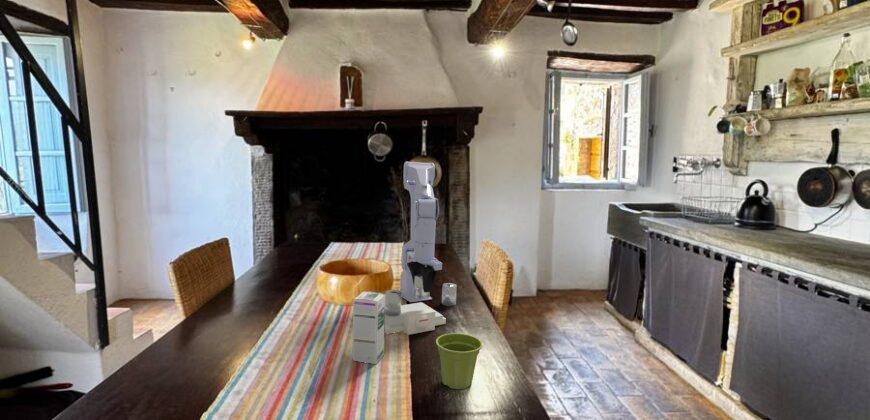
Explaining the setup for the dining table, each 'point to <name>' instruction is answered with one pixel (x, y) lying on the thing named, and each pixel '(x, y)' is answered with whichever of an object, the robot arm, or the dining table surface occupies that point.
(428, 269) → the robot arm
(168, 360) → the dining table surface
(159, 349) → the dining table surface
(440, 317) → the scale
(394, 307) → the cylinder
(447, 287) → the cylinder
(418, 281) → the cylinder
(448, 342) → the plant pot
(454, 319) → the dining table surface
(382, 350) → the syrup box
